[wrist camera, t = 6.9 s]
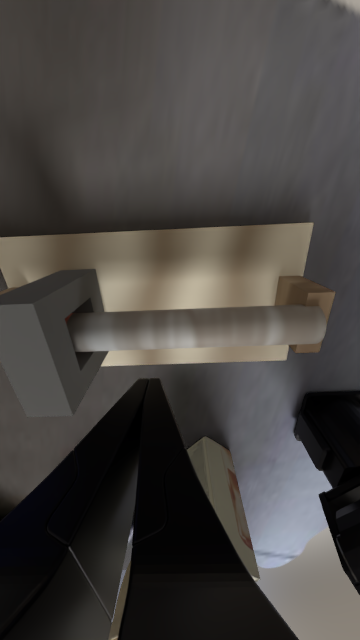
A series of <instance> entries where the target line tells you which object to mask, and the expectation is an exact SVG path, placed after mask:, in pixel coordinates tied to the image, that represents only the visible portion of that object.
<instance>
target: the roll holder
mask: <svg viewBox="0 0 360 640" xmlns="http://www.w3.org/2000/svg"><path fill="white" fill-rule="evenodd" d="M313 224H314V223H291V224H270V225H249V226H228V227H207V228H186V229H165V230H144V231H124V232H103V233H82V234H61V235H40V236H19V237H0V268H1V271H2V274H3V276H4V279H5V281H6V284H7V286H8V289H6V290H4V291H1V292H0V295H1V294H4V293H6V292H9V291H11V290H14V289H16V288H19V287H21V286H23V285H26V284H28V283H31V282H33V281H36V280H38V279H41V278H43V277H45V276H48V275H50V274H53V273H55V272H58V271H60V270H78V269H96V273H97V278H98V283H99V288H100V293H101V297H102V302H103V307H104V312H93V313H71V314H70V315H69V316H67V317H66V318H65V321H66V325H67V328H68V331H69V335H70V338H71V341H72V345H73V348H74V351H75V352H90V351H109V352H108V354H107V356H106V357H105V359H104V361H103V363H102V365H101V366H123V365H154V364H185V363H216V362H247V361H278V360H286V359H287V354H288V349H289V346H290V347H291V348H292V350H293V351H294V352H295V353H311V352H319V351H320V347H321V344H322V340H323V338H324V336H325V333H326V325H327V322H328V318H329V315H330V311H331V307H332V304H333V300H334V296H335V293H336V292H334V291H332V290H330V289H328V288H326V287H324V286H321V285H319V284H317V283H315V282H313V281H311V280H308V279H306V278H304V277H303V274H304V269H305V264H306V259H307V254H308V249H309V244H310V239H311V234H312V229H313ZM0 363H1V362H0Z"/></svg>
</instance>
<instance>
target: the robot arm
mask: <svg viewBox="0 0 360 640" xmlns="http://www.w3.org/2000/svg"><path fill="white" fill-rule="evenodd" d="M295 430H296V431H295V434H294V436H295V438H296V440H298V441H302V443H303V445H304V447H305V449H306V450H307V452H308V454H309V456H310V458H311V460H312V461H313V463H314V465H315V467H316V468H317V469H318V470H319V471H323V472H324V474H325V476H326V477H327V479H328V481H329V483H330V484H331V486H332V488H333V489H331V490H329V491H327V492H322V493H320V494H319V498H320V501H321V504H322V508H323V511H324V514H325V517H326V520H327V523H328V526H329V529H330V532H331V534H332V538H333V541H334V543H335V547H336V550H337V553H338V556H339V559H340V562H341V565H342V567H343V570H344V571H345V573H346V574H347V576H348V577H349V579H350V581H351V582H352V584H353V585H354V587H355V589H356V590H357V592H358V593H359V595H360V391H353V392H318V393H308V394H306V395H305V397H304V401H303V404H302V408H301V412H300V414H299V418H298V422H297V425H296V429H295ZM134 508H135V515H134V528H133V541H132V546H133V548H132V555H131V566H130V574H129V582H128V588H127V594H126V599H125V604H124V609H123V614H122V619H121V624H120V629H119V634H118V639H117V640H299V639H298V638H297V637H296V635H295V634H294V633H293V631H292V630H291V629H290V627H289V626H288V625H287V623H286V622H285V621H284V619H283V618H282V617H281V615H280V614H279V613H278V612H277V610H276V609H275V608H274V606H273V605H272V604H271V602H270V601H269V600H268V598H267V597H266V596H265V594H264V593H263V592H262V591H261V589H260V588H259V586H258V585H257V584H256V582H255V581H254V579H253V578H252V576H251V575H250V573H249V571H248V570H247V568H246V567H245V565H244V563H243V562H242V560H241V558H240V556H239V555H238V553H237V551H236V549H235V548H234V546H233V544H232V542H231V540H230V538H229V536H228V534H227V533H226V531H225V529H224V527H223V525H222V523H221V521H220V519H219V517H218V516H217V514H216V512H215V510H214V508H213V506H212V504H211V502H210V500H209V498H208V497H207V495H206V493H205V491H204V489H203V487H202V484H201V482H200V480H199V478H198V476H197V474H196V472H195V469H194V467H193V464H192V462H191V459H190V457H189V454H188V451H187V449H186V448H185V444H184V441H183V438H182V436H181V433H180V430H179V428H178V425H177V422H176V420H175V417H174V414H173V411H172V409H171V406H170V403H169V401H168V398H167V395H166V393H165V390H164V387H163V385H162V382H161V379H160V378H150V379H148V378H140V379H138V380H137V381H136V382H135V383H134V384H133V385H132V386H131V387H130V389H129V390H128V391H127V392H126V393H125V394H124V395H123V396H122V397H121V398H120V399H119V400H118V402H117V403H116V404H115V405H114V406H113V407H112V408H111V409H110V410H109V411H108V412H107V413H106V414H105V416H104V417H103V418H102V419H101V420H100V421H99V422H98V423H97V424H96V425H95V426H94V427H93V428H92V430H91V431H90V432H89V433H88V434H87V435H86V436H85V437H84V438H83V439H82V440H81V441H80V443H79V444H78V445H77V446H76V447H75V448H74V451H71V452H70V453H69V454H68V455H67V456H66V458H65V459H64V460H63V461H62V462H61V463H60V464H59V465H58V466H57V467H56V468H55V469H54V470H53V471H52V472H51V473H50V474H49V475H48V476H47V477H46V478H45V479H44V480H43V481H42V482H41V483H40V484H39V485H38V486H37V487H36V488H35V489H34V490H33V491H32V492H31V493H30V494H29V495H28V496H27V497H26V498H25V499H23V500H22V501H21V502H20V503H19V504H18V505H17V506H16V507H15V508H14V509H13V510H12V511H11V512H10V513H8V514H7V515H6V516H5V517H4V518H3V519H2V520H1V521H0V640H108V639H109V634H110V629H111V624H112V623H111V620H112V618H113V613H114V608H115V603H116V598H117V593H118V588H119V583H120V578H121V573H122V568H123V563H124V558H125V553H126V548H127V543H128V538H129V533H130V528H131V523H132V518H133V513H134Z"/></svg>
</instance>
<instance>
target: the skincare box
mask: <svg viewBox="0 0 360 640" xmlns="http://www.w3.org/2000/svg"><path fill="white" fill-rule="evenodd" d="M187 451H188V454H189V457H190V459H191V462H192V464H193V467H194V469H195V472H196V474H197V476H198V478H199V480H200V482H201V484H202V487H203V489H204V491H205V493H206V495H207V497H208V498H209V500H210V502H211V504H212V506H213V508H214V510H215V512H216V514H217V516H218V517H219V519H220V521H221V523H222V525H223V527H224V529H225V531H226V533H227V534H228V536H229V538H230V540H231V542H232V544H233V546H234V548H235V549H236V551H237V553H238V555H239V556H240V558H241V560H242V562H243V563H244V565H245V567H246V568H247V570H248V571H249V573H250V575H251V576H252V578H253V579H254V581H255V582H257V581H260V577H259V572H258V568H257V563H256V559H255V555H254V551H253V547H252V542H251V538H250V534H249V529H248V525H247V521H246V517H245V512H244V508H243V504H242V500H241V495H240V491H239V487H238V483H237V479H236V474H235V470H234V466H233V461H232V457H231V453H230V451H229V450H227V449H226V448H224V447H223V446H221V445H220V444H218V443H216V442H215V441H213V440H211V439H210V438H208V437H206V436H205V437H203V438H202V439H200V440H199V441H198V442H196V443H195V444H194V445H193V446H191V447H190V448H189V449H188V450H187Z"/></svg>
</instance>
